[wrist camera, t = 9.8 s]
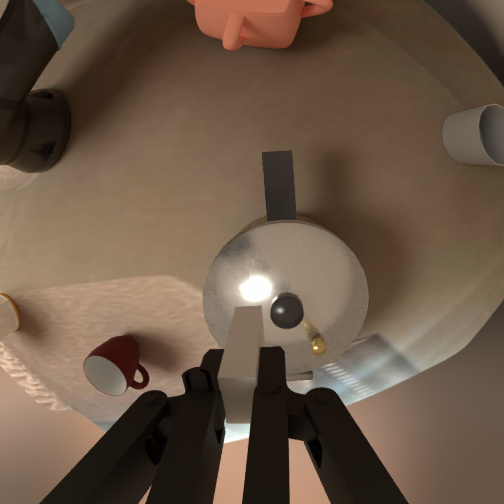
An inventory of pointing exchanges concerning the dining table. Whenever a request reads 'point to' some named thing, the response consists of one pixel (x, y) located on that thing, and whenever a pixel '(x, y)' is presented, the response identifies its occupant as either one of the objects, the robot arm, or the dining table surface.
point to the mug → (115, 366)
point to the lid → (290, 292)
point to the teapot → (255, 20)
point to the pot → (279, 193)
